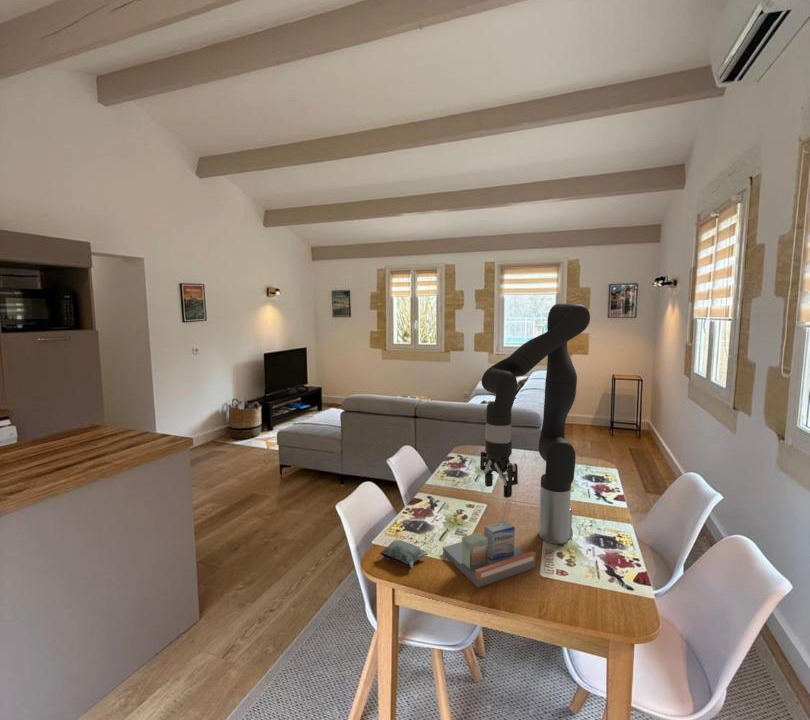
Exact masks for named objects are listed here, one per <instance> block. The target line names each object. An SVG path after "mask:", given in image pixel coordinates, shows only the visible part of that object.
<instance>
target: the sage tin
mask: <svg viewBox="0 0 810 720" xmlns="http://www.w3.org/2000/svg"><path fill="white" fill-rule="evenodd" d="M461 542H462V564H463V565H464V566H465V567H466V568H467V569H468V570H469V571H471V570H475V569H478V568H481V567H484V566H487V563H488V538H486V537H485V536H484V534H483V533H481V532H480V531H478V532H475V533H471V534H467V535H465V536H461Z"/></svg>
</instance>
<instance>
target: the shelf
mask: <svg viewBox="0 0 810 720" xmlns="http://www.w3.org/2000/svg"><path fill="white" fill-rule="evenodd" d="M442 553H443V555H444V556H445V557H446V558H447V559H448V560H449V561H450V563H452V564H453V565H454V566H455V567H456V568H457V569H458V570H459V571H460V572H461V573H462V575H464V576H465V577H466V578H467V579H468V580H469V581H471V583H472V584H474V586H475V587H476V588H481V587H483V586H487V585H489V584H493V583H494V582H495V583H496V582H498V581H501V580H504V579H507V578H510V577H511V576H512V577H513V576H515V575H518V574H521V573H523V572H526V571H529V570H532V569H535V568H536V552H534V550H533V551H529V552H527V553H525V552H523V550H521V548H518V547H517V546H515V545H514V554H512V555H509V556H505V557H502V558H499V559H495V560H492V559H491V558H490V557H489V556H488V563H487V566H484V567H481V568H478V569H475V570H471V571H469V570H468V569H467V568H466V567H465V566H464V565H463V564H462V541H461V542H457V543H455V544H450V545H448V546H443V547H442Z"/></svg>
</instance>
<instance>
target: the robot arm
mask: <svg viewBox="0 0 810 720" xmlns="http://www.w3.org/2000/svg"><path fill="white" fill-rule="evenodd" d="M590 321H591V315H590V311H589V308H588V307H586V306H585V305H583V304H580V303H555V304H553V306H552V307H550V310H549V312H548V315H547V322H546V323H547V325H546V327H547V331H546V332H544V333H542V334H539V335H537V336H535V337H533V338H531V339H529V340H528V341H526V342H525V343H523V344H521V346H519V347H518V348H517V349H516V350H515V351H514V352H512V353H511V354H510V355H509V356H508V357H506V358H504V359H501V360H500V361H498V362H497V363H495V364H493V365H491V366H490V367H488V368H487V370H485V372H484V373H483V375H482V378H481V385H482V387H483V389H484V390H485V391H487V392H489V393H492V394H495V398H494V401H490V402H488V403H487V405H486V415H485V416H486V418H485V419H486V420H485V421H486V422H485V423H486V424H485V431H484V432H485V433H484V434H485V437H484V438H485V439H484V440H485V441H484V442H485V443H484V444H485V445H484V450H483V451H481V452H480V464H479V468H480V471H482V472H483V474H484V483H485V484H484V486H486V488H490V487H492V486H493V480H494V479H493V478H494V477H493V476H494V474H493V473H494V472H495V473H496V474H498V475H499V478H500V479H502V481H503V498H505V499H508V498H511V497H512V495H513V486H516V485H518V484H519V481H518V480H519V476H518V475H519V474H518V473H519V472H518V471H519V470H518V464H517V463H512V462H510V457H511V455H512V454H513V452H512V451H513V449H512V448H513V427H512V408H513V406H514V402H515V398H516V394H517V392H518V380H517V377H523V376H525V375H527V374H528V373H529V372H530V371H532V369H534V368H535V366H537V365H538V364H539V363H540V362H541V361H543V359H545V358H547V362H546V373H545V384H544V400H543V401H544V402H543V418H542V424H541V430H540V435H539V436H540V437H539V441H538V446H537V447H538V453H539V456H540V457H541V458H542V459H543V460H544V462H545V473H544V474H542V475H540V476H541V477H540V486H539V487H540V489H539V490H540V491H539V521H538V522H539V524H538V529H539V531H538V535H539V536H538V537H539V538H540V539H541V540H543V541H544V542H546V543H548V544H553V545H562V544H566V543H567V542H569V540H570V539H571V538H572V528H573V527H572V526H573V525H572V524H573V523H572V522H573V521H572V519H573V509H572V508H571V497H572V496H571V493H572V483H573V481H574V479H575V469H576V459H577V458H576V450H575V448H574V445H572V444H571V443H570V442H568V441H567V440H566V438H565V437H566V435H565V429H566V421H567V417H568V415H569V413H570V411H571V409H572V407H573V405H574V402H575V399H576V395H577V383H578V375H577V372H576V369H575V367H574V364H573V361H572V360H571V357H570V353H569V350H568V342H569V341H570V340H572V339H574V338H576V337H577V336H579V335H580V334H582V333H583V332H584V331H585V330H587V328H588V327H589V324H590Z"/></svg>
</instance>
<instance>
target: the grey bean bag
mask: <svg viewBox="0 0 810 720" xmlns="http://www.w3.org/2000/svg"><path fill="white" fill-rule="evenodd" d="M379 554H380V555H381V556H383V557H384V559H386V560H388V561H392V562H394V563H395V564H398V565H401V566H403V567H405V568H411V569H413V568H414V563H415V562H417V561H418V560H420V559H422V558H423V557H425V556H428V555H429V553H428V552H427V551H425V549H421V548H420V546H417V545H414V544H412V543H409V542H406V541H404V540H400V539H397V538H396V539H394V540H393V541H392V542H390V543H389V544H388V546H387V547H386V548H384V549H383V550H382V551H380V552H379Z"/></svg>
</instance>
